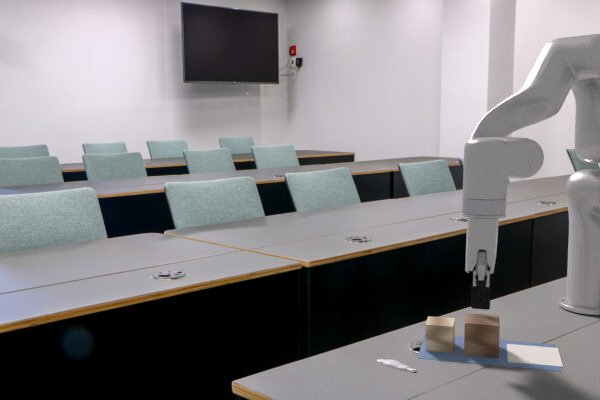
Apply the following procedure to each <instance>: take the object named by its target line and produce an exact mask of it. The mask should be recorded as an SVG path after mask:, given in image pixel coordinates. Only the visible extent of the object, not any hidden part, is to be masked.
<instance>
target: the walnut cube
mask: <svg viewBox="0 0 600 400" xmlns="http://www.w3.org/2000/svg"><path fill="white" fill-rule="evenodd" d="M464 318H465V319H464V336H463V337H464V355H469V356H481V357H492V358H499V340H500V327H501V326H500V325H501V324H500V315H497V314H485V313H484V314H482V313H469V312H465V317H464Z"/></svg>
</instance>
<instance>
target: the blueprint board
mask: <svg viewBox="0 0 600 400" xmlns="http://www.w3.org/2000/svg"><path fill="white" fill-rule="evenodd" d="M417 359H421V360H431V361H443V362H452V363H455V362H456V363H462V364H463V363H465V364H473V365H474V364H475V365H485V366H497V367H509V368H516V369H517V368H518V369H529V370H541V371H552V372H562V368H564V365H563V361H562V358H561V354H560V352H559V348H558V347H555V344H551V343H538V342H528V341H516V340H515V341H514V340H505V339H503V340H502V339H499V358H492V357H481V356H469V355H464V336H456V335H455V344H454V350H453V353H447V352H436V351H425V334H424V336H423V338H422V343H421V345H420V348H419V352H418V355H417Z"/></svg>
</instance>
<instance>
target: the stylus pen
mask: <svg viewBox="0 0 600 400" xmlns="http://www.w3.org/2000/svg"><path fill="white" fill-rule="evenodd" d="M376 361H377V362H378V363H381V364H382V365H383V366H385V367H388V368H394V369H397V370H401V371H406V372H410V373H416V372H417V369H416V368H411V366H410V367H409V365H406V364H403V363H401V362H399V361H398V360H396V359H382V358H381V359H376Z"/></svg>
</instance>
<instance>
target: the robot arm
mask: <svg viewBox="0 0 600 400" xmlns="http://www.w3.org/2000/svg"><path fill="white" fill-rule="evenodd" d="M570 91H572V93H573V97H574V100H575V102H574V103H575V117H574V119H575V121H574V122H575V123H574V124H575V125H574V152H575V155H576V157H577V159H579V161H581V162H584V163H589V164H600V33H593V34H584V35H583V34H582V35H574V36H566V37H565V36H564V37H559V38H555V39H553V40H550V41H548V42H547V43H546V44H545V45H544V46H543V48H541V50H540V52H539V54H538V55H537V57H536V59H535V60H534V63H533V65H532V66H531V68H530V70H529V72H528V74H527V76H526V77H525V80H523V83H522V84H521V87H520V88H519V90H518V91H517V92H515V93H514V94H511V95H510V96H509V97H507V98H506V99H504V100H503V101H502V102H500V103H498V104H497V105H496V106H495V107H493V108H492V109H491V110H489V111H488V112H487V113H486V114H485V115H484V116H483V117H482V118H481V119H480V120H479V121H478V122H477V125H476V127H475V128H474V129H473V132H472V134H471V135H470V137H469V138H468V139H469V140H467V141H466V143H465V144H464V148H463V170H462V171H463V172H462V173H463V174H462V175H463V176H462V177H463V178H462V179H463V180H462V206H461V207H462V208H461V209H462V210H461V216H462V217H465V218H467V224H466V226H467V227H466V243H465V245H466V246H465V268H464V271H465V272H466V273H468V274H469V273H470V272H472V285H471V288H470V289H471V290H470V291H471V294H470V308H471V309H473V310H474V309H475V310H484V311H485V310H486V311H488V310H489V311H490V309H491V291H492V287H491V275H492V274H494V272H495V266H496V265H495V264H496V259H497V252H498V251H497V249H498V239H499V237H498V236H499V219H505V218H506V216H507V214H506V213H507V194H508V193H507V188H508V179H521V180H522V179H528V178H532V177H534V176H535V175H536V174H537V173H539V171H540V170H541V169H542V167H543V164H544V161H545V160H544V159H545V157H544V156H545V155H544V150H543V148H542V147H541V145H540V144H539V142H537V141H536V140H534V139H532V138H528V137H517V136H516V137H514V136H512V137H509V135H511V134H513V133H514V132H516V131H519V130H522V129H523V128H527V127H529V126H532V125H535V124H538V123H541V122H544V121H546V120H548V119H551V118H553V117H555V116H556V115H558V113H559V112H560V111H561V108H562V107H563V105H564V103H565V101H566V100H567V97H568V95H569V93H570ZM565 198H566V203H567V209H568V242H567V243H568V245H567V247H568V248H567V270H566V271H567V273H566V275H567V276H566V295H564V296H562V297H560V298H559V300H558V305H559V306H560V307H561V308H562V309H563V310H566V311H569V312H571V313H576V314H582V315H590V316H600V169H595V168H589V169H588V168H587V169H580V170H577V171H575V172H573V173H572V174H571V175H570V176H569V177H568V178H567V181H566V183H565Z"/></svg>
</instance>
